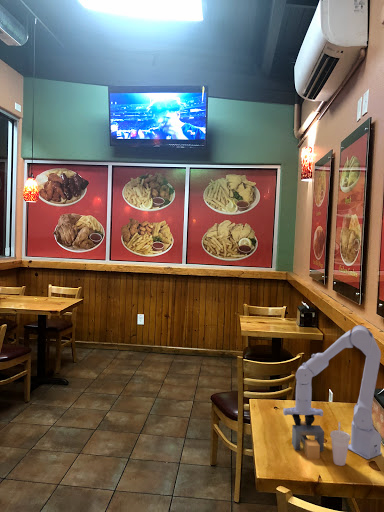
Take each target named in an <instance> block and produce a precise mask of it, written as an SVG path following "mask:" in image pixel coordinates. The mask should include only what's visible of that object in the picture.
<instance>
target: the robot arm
mask: <svg viewBox="0 0 384 512" xmlns="http://www.w3.org/2000/svg"><path fill="white" fill-rule="evenodd" d="M354 347H355V348H356V349H359V350H360V351H361V352H362V353H363V354H364V355H365V362H364V366H363V367H364V368H363V373H362V379H361V384H360V390H359V396H358V399H357V403H356V404H355V405H354V406H353V416H352V421H351V429H350V430H351V432H350V444H349V445H348V450H350V451H352V453H355V454H357V455H358V456H361V457H362V458H364V459H366V460H369V459H372V458H375V457H377V456H378V457H379V456H381V455H382V451H381V448H382V444H381V443H382V435H381V433H380V432H378V431H377V430H376V429H375V427H374V424H373V401H374V395H375V391H376V390H375V389H376V385H377V380H378V373H379V369H380V363H381V358H382V357H381V356H382V351H381V349H380V347H379V346H378V343H377V341H376V339H375V337H374V335H373V333H372V332H371V330H369V329H368V327H366V326H364V325H355V326H354V327H353V328H352V329H349V330H348V331H346V332H345V333H344V334H343V335H341V336H340V337H339V338H338V339H336V340H335V342H334V343H332V344H331V345H330V346H329V347H328V348H327V349H326V350H324V352H317V353H312V354H311V358H309V359H308V360H307V361H305V362H303V363H302V364H301V365H300V366H299V367H298V369H297V370H296V372H295V380H296V382H295V383H296V385H295V405H294V406H293V407H287V408H285V407H283V411H282V413H283V415H284V416H288V415H289V416H292V418H293V422H294V425H300V423H301V421H302V419H301V416H304V421H305V423H306V425H312V424H314V422H315V419H316V418H315V416H319V417H323V416H324V411H323V409H322V408H314V407H312V392H313V391H312V390H313V388H312V380H313V377H315V376H317V375H319V374H320V373H321V372H322V371H324V369H326V368H327V367H328V366H329V361H330V360H331V359H333V358H334V357H335V356H336V355H337V354H339V353H340V352H342V351H343V350H344V349H346V348H347V349H352V348H354Z"/></svg>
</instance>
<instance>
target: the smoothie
mask: <svg viewBox="0 0 384 512" xmlns="http://www.w3.org/2000/svg"><path fill="white" fill-rule="evenodd" d="M329 436H330V438H331V447H332V450H331V451H332V459H333V463H334V464H335V466H336V465H337V466H345V465H346V462H347V457H348V455H347V454H348V450H349V449H348V445H349V443H350V442H351V434H349V433H347V432H345V431H344V430H341V421H338V429H337V430H336V429H335V430H331V431H330V435H329Z"/></svg>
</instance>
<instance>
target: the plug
mask: <svg viewBox="0 0 384 512" xmlns="http://www.w3.org/2000/svg"><path fill="white" fill-rule="evenodd" d="M300 425H306V423H305V420H303V421H302V420H301V423H300ZM301 442H302V444H303V446H304V453H305V456H306V458H307V459H318V460H319V459H320V455H321V453H320V452H321V451H320V445H319V443H318V442H317V440H314V439H309V438H308V437H307V436H302V435H301Z"/></svg>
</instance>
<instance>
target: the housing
mask: <svg viewBox="0 0 384 512" xmlns="http://www.w3.org/2000/svg"><path fill="white" fill-rule="evenodd" d="M291 433H292V434H291V445H292V447H293V449H294V451H299V452H300V451H301V442H302V440H301V435H302V436H306V437H307V436H309V437H312V436H313V437H314V438H313V440H317V442H318V443H319V445H320V452H324V446H325V443H324V442H325V431H324V429H323V428H322V427H321V425H319V424H318V425H317V424H316V425H315V424H313V425H295V424H292V431H291Z"/></svg>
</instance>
